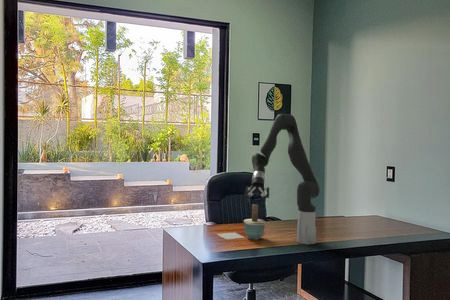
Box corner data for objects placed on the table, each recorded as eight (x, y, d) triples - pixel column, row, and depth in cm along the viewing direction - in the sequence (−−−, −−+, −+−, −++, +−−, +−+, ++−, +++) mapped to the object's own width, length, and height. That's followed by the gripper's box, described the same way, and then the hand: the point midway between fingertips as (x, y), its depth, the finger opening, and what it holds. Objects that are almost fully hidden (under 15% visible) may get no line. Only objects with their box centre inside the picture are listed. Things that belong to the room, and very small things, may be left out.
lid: (269, 224, 209) (270, 206, 209) (251, 225, 204) (251, 207, 203) (257, 220, 220) (258, 202, 220) (239, 221, 214) (240, 203, 214)
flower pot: (243, 239, 210) (244, 223, 210) (249, 236, 218) (250, 220, 218) (258, 241, 206) (258, 225, 206) (264, 238, 214) (265, 222, 214)
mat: (245, 238, 213) (245, 237, 213) (225, 239, 207) (225, 239, 207) (234, 233, 223) (234, 232, 223) (216, 234, 218) (216, 234, 218)
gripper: (246, 175, 228) (243, 197, 217) (270, 176, 226) (268, 199, 215) (246, 183, 233) (243, 205, 222) (270, 184, 231) (268, 207, 220)
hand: (256, 202), depth 218 cm, fingers open, 8 cm apart
